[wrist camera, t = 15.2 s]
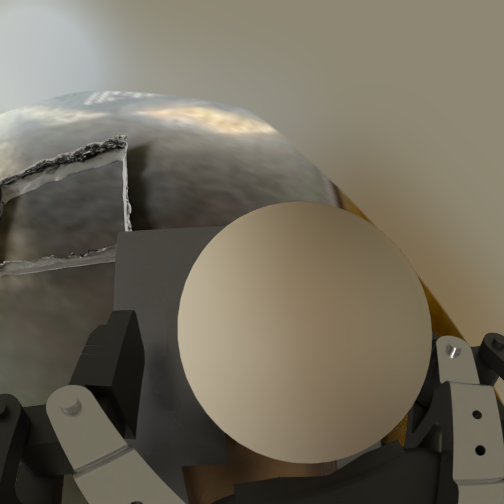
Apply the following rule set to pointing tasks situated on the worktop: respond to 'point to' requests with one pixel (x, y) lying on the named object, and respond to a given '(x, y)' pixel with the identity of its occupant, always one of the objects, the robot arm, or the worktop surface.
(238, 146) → the worktop surface
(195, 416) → the keyhole board
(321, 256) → the keyhole peg
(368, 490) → the robot arm
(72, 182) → the worktop surface
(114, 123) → the worktop surface
